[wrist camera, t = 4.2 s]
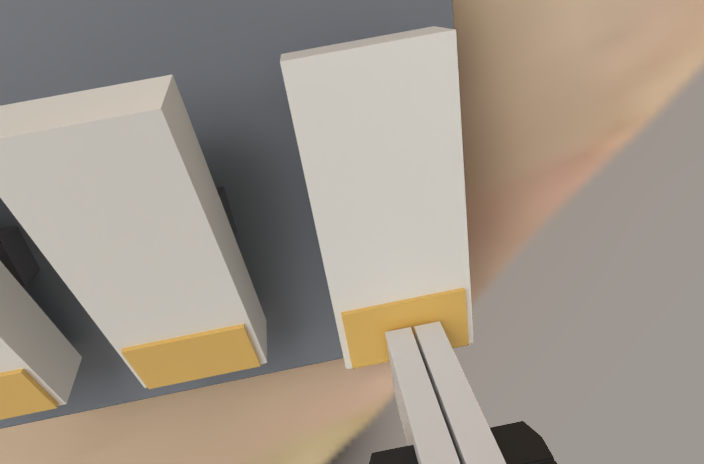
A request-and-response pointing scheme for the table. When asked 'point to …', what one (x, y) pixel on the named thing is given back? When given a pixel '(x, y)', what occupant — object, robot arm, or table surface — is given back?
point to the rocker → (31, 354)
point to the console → (216, 144)
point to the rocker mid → (134, 227)
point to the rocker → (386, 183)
